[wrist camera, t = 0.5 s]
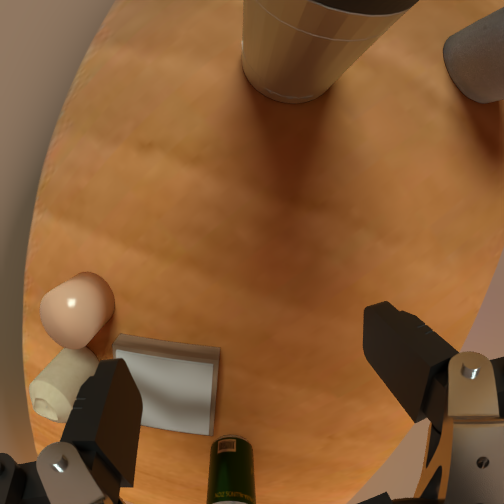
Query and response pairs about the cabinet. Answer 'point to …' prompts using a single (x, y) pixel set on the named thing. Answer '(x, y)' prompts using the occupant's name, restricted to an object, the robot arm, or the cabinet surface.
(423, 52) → the cabinet surface
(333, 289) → the cabinet surface
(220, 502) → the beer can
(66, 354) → the candle
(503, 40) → the pillar candle
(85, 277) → the peach rounded cylinder
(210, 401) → the podium
